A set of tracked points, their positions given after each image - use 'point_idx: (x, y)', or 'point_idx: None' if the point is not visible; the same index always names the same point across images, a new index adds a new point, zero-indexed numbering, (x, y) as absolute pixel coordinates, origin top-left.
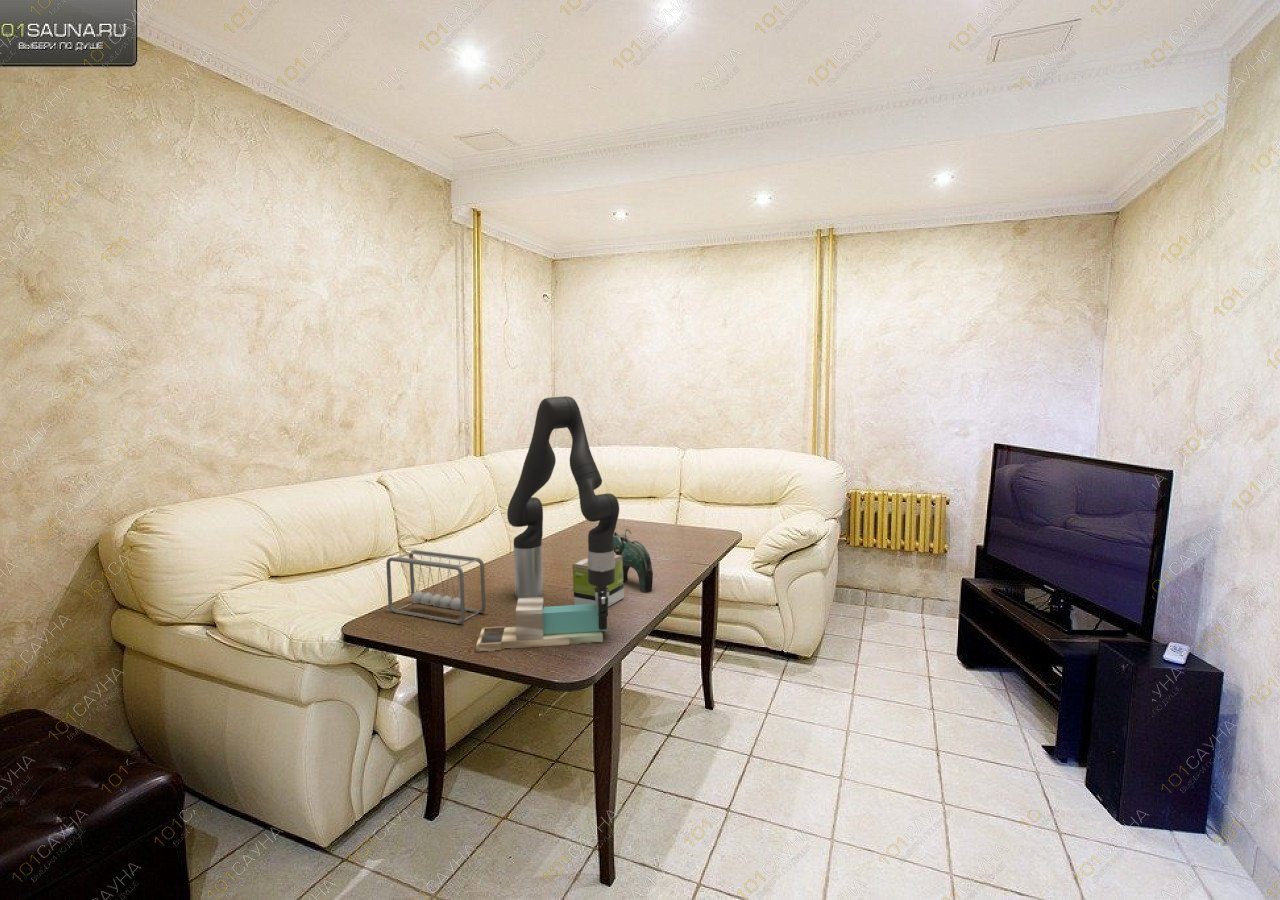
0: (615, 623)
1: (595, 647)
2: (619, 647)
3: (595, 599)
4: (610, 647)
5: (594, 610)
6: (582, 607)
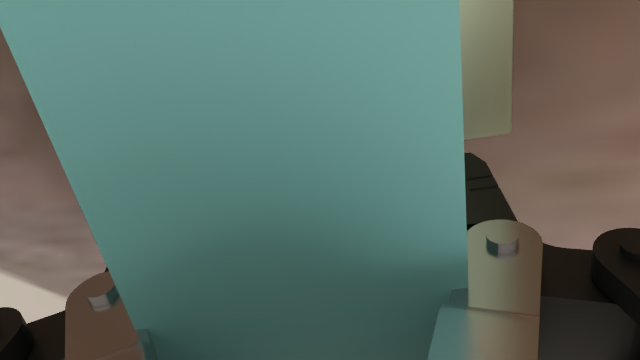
0: (583, 222)
1: (10, 98)
2: (63, 281)
3: (432, 352)
4: (45, 220)
5: (113, 275)
6: (245, 28)
